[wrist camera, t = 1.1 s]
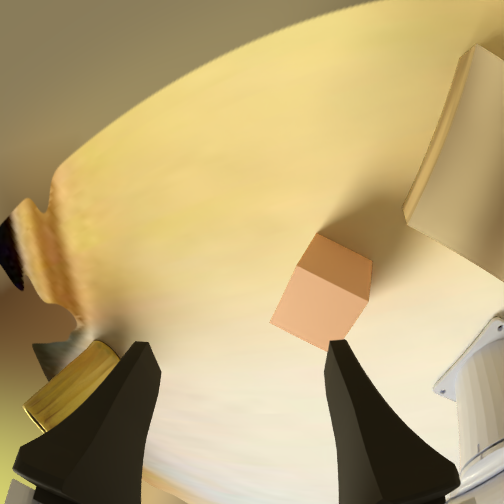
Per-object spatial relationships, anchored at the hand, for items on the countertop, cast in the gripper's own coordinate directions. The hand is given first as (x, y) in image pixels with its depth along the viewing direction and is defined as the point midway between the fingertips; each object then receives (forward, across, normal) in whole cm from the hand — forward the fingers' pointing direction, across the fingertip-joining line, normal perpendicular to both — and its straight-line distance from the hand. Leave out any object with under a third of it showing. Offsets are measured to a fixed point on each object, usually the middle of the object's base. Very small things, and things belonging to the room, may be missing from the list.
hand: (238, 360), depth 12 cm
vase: (+15, +20, +20) cm, 33 cm away
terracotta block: (+9, -5, +2) cm, 10 cm away
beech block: (+6, -16, -6) cm, 18 cm away
